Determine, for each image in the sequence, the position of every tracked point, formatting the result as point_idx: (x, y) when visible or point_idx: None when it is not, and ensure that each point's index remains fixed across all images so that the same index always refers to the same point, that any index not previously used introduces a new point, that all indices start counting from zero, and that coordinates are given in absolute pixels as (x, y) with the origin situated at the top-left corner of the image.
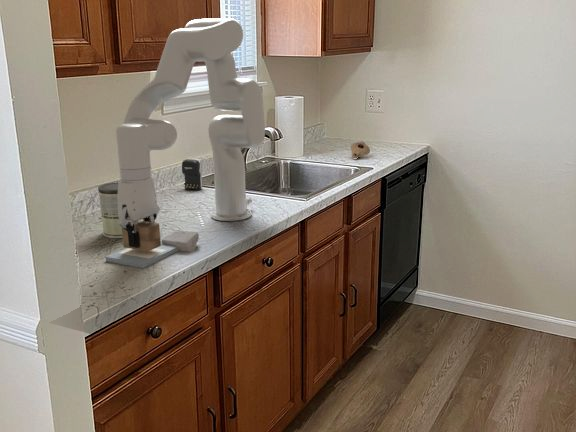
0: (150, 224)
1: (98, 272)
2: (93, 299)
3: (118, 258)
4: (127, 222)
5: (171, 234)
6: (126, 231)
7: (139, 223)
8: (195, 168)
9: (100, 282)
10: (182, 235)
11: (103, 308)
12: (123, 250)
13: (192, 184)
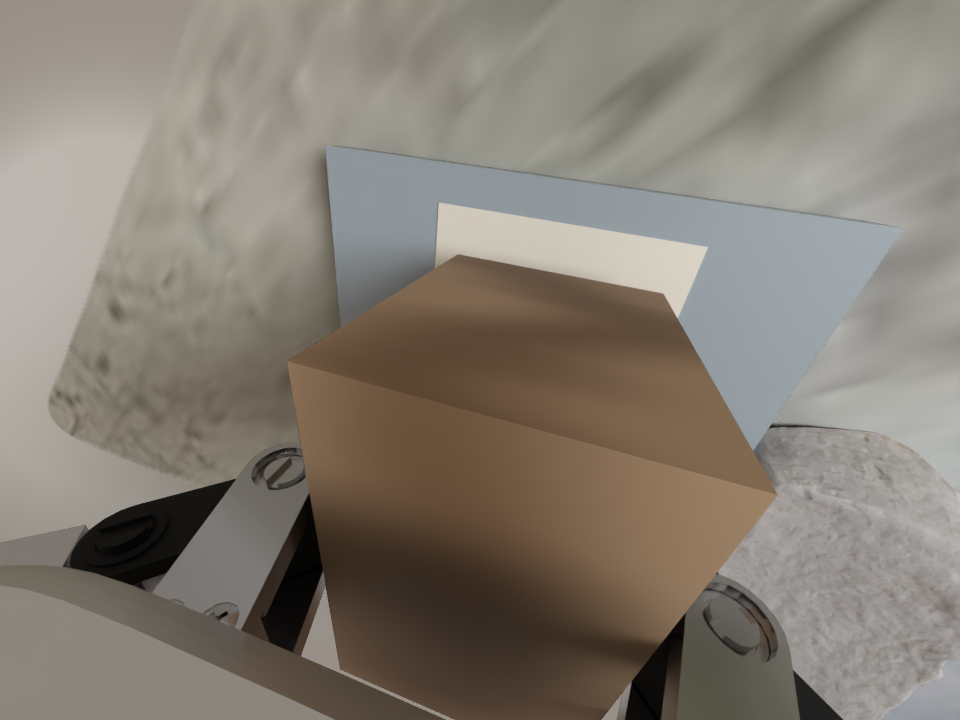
0: (494, 705)
1: (207, 238)
2: (83, 383)
3: (346, 282)
4: (177, 594)
5: (908, 557)
6: (275, 456)
7: (493, 609)
8: None
9: (157, 328)
10: (840, 630)
11: (88, 437)
12: (512, 209)
13: None
